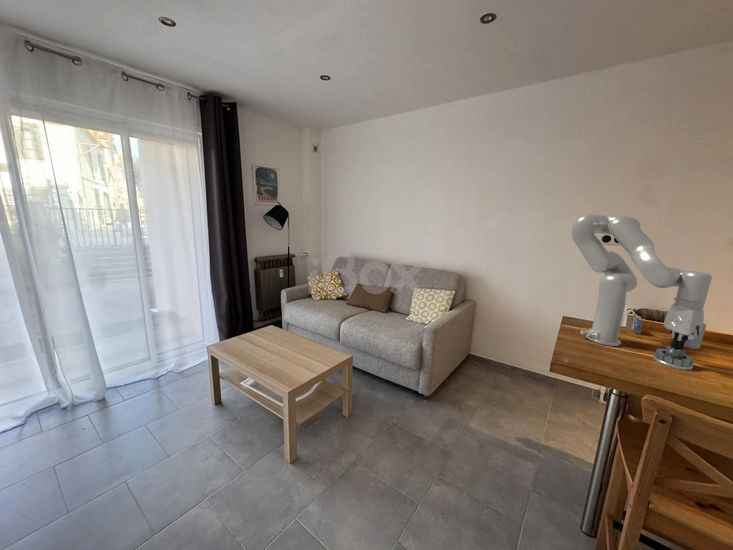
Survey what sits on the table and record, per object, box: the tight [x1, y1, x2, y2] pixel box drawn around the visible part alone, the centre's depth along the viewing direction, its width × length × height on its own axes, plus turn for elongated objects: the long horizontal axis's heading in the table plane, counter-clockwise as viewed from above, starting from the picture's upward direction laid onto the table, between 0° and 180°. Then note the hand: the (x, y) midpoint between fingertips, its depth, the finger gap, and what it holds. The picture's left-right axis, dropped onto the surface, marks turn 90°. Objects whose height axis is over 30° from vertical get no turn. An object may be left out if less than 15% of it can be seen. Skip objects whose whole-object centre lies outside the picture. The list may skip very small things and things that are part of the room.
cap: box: [665, 345, 686, 359], centre depth 116 cm, size 5×5×5 cm
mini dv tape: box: [630, 318, 644, 336], centre depth 148 cm, size 8×2×6 cm, turn 152°
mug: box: [683, 322, 707, 350], centre depth 133 cm, size 12×8×11 cm
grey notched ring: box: [652, 348, 694, 371], centre depth 116 cm, size 11×11×4 cm
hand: (676, 348), depth 115 cm, fingers closed
